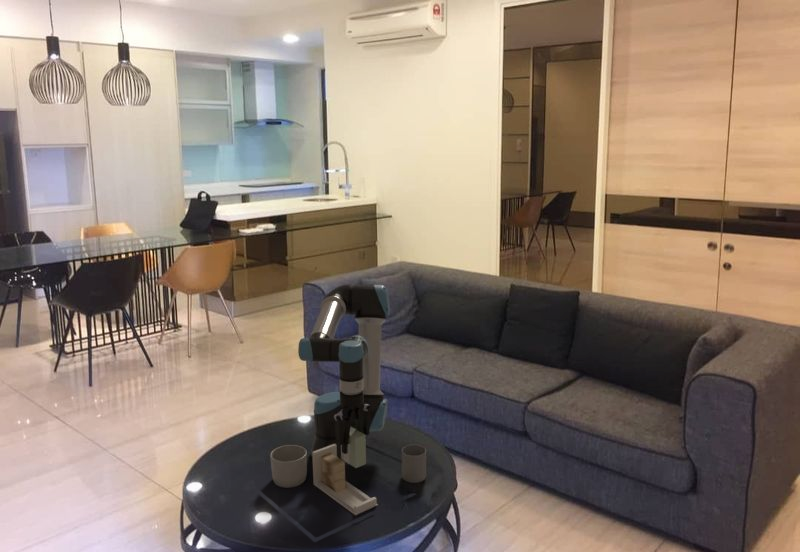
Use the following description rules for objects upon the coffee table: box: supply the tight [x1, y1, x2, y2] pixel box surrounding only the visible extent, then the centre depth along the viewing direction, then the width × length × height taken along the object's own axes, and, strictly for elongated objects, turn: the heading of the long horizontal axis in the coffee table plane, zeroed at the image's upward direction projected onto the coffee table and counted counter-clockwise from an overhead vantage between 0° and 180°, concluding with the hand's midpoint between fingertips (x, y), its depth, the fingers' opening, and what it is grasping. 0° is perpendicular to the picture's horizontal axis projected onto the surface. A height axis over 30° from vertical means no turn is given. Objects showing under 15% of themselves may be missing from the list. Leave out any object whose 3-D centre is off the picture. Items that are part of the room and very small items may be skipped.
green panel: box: [341, 427, 367, 469], centre depth 208 cm, size 8×4×10 cm, turn 40°
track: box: [312, 444, 379, 516], centre depth 215 cm, size 24×9×13 cm, turn 40°
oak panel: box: [321, 453, 346, 493], centre depth 220 cm, size 8×4×10 cm, turn 40°
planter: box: [269, 444, 308, 489], centre depth 225 cm, size 12×12×11 cm
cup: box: [401, 444, 427, 484], centre depth 228 cm, size 8×8×10 cm
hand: (353, 459), depth 209 cm, fingers closed on green panel, 4 cm apart
